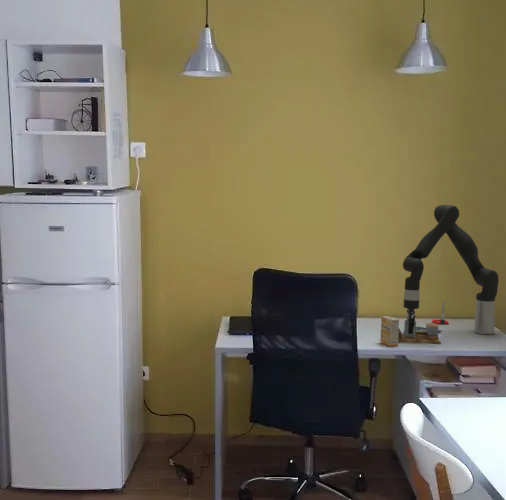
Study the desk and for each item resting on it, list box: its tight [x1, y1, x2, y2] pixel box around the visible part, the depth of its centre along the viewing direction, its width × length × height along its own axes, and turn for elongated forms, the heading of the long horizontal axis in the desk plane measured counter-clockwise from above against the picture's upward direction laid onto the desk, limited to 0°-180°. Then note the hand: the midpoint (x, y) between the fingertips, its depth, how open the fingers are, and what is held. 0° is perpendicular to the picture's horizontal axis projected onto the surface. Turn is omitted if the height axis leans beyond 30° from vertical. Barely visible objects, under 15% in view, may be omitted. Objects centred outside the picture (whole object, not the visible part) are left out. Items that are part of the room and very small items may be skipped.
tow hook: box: [431, 300, 450, 325], centre depth 361 cm, size 8×13×9 cm
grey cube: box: [425, 322, 439, 337], centre depth 322 cm, size 5×6×6 cm
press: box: [398, 328, 442, 345], centre depth 323 cm, size 20×12×4 cm, turn 83°
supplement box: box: [379, 315, 400, 348], centre depth 314 cm, size 8×5×13 cm, turn 23°
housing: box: [403, 319, 417, 336], centre depth 323 cm, size 5×4×8 cm
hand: (410, 332), depth 324 cm, fingers closed on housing, 4 cm apart
